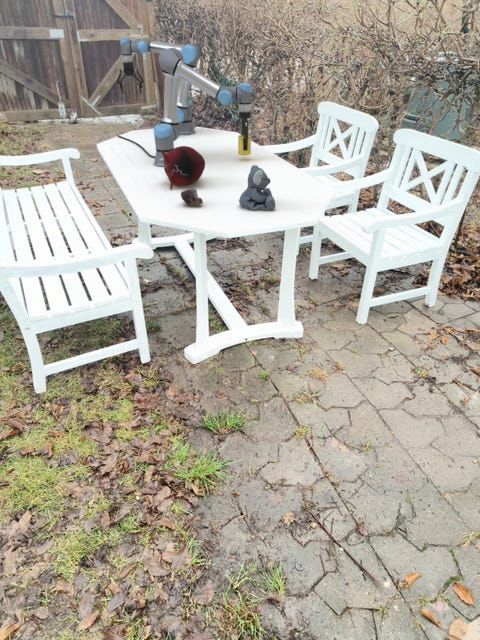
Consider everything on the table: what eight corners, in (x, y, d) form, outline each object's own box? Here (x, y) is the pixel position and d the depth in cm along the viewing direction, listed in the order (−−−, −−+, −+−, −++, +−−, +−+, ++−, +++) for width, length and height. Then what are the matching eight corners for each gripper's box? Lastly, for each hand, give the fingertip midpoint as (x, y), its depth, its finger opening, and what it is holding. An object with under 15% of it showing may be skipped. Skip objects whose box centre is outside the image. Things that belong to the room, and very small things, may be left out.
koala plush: (276, 211, 223) (277, 171, 212) (240, 212, 222) (240, 172, 211) (271, 199, 237) (272, 161, 226) (237, 200, 236) (237, 162, 225)
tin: (235, 154, 297) (235, 136, 290) (243, 151, 302) (243, 134, 296) (245, 156, 293) (245, 138, 286) (253, 153, 298) (253, 136, 292)
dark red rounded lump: (162, 151, 264) (156, 150, 240) (201, 143, 263) (199, 140, 240) (172, 188, 271) (167, 190, 247) (209, 180, 270) (208, 181, 246)
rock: (196, 202, 238) (178, 205, 233) (194, 185, 234) (176, 188, 230) (205, 205, 228) (187, 208, 224) (203, 188, 224) (185, 191, 220)
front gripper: (253, 114, 274) (252, 152, 287) (248, 108, 292) (247, 144, 304) (241, 114, 274) (240, 152, 286) (237, 108, 291) (237, 144, 304)
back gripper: (110, 62, 332) (115, 94, 344) (144, 61, 335) (147, 93, 347) (111, 61, 338) (116, 92, 351) (144, 61, 341) (148, 92, 353)
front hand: (244, 148), depth 295 cm, fingers closed on tin, 8 cm apart
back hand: (131, 93), depth 349 cm, fingers open, 13 cm apart
